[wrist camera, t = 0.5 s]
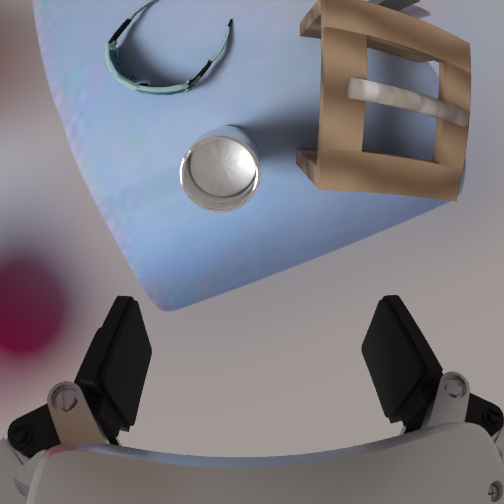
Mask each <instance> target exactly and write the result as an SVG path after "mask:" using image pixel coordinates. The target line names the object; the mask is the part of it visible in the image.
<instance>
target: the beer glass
mask: <svg viewBox="0 0 504 504" xmlns="http://www.w3.org/2000/svg"><path fill="white" fill-rule="evenodd" d="M260 169H261V164H260V157H259V153H258V151H257V148H256V147H255V145H254V143H253V142H252V141H251V139H250V138H249V136H248V135H247V134H246V133H245V132H244V131H243V130H242V129H240V128H238V127H235V126H222V127H219V128H217V129H214V130H211V131H208V132H206V133H204V134H203V135H201V136H200V137H199V138H198V139H197V140H196V141H195V142H194V143H193V144H192V145H191V147H190V148H189V150H188V151H187V152H186V154H185V156H184V158H183V160H182V163H181V167H180V180H181V184H182V187H183V189H184V191H185V193H186V195H187V196H188V197H189V199H190V200H191V201H192V202H194V203H195V204H196V205H198V206H199V207H201V208H203V209H205V210H208V211H213V212H228V211H232V210H235V209H238V208H240V207H241V206H243V205H244V204H246V203H247V202H248V201H249V200H250V199H251V198H252V197H253V195H254V194H255V192H256V190H257V188H258V186H259V182H260V175H261V172H260Z"/></svg>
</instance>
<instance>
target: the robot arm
mask: <svg viewBox="0 0 504 504" xmlns="http://www.w3.org/2000/svg"><path fill="white" fill-rule="evenodd" d="M151 354H152V348H151V345H150V342H149V339H148V335H147V332H146V329H145V325H144V322H143V319H142V315H141V311H140V308H139V304H138V302H137V301H136V300H134V299H133V297H131V296H117V298H116V299H115V301H114V303H113V305H112V307H111V309H110V311H109V313H108V315H107V317H106V319H105V321H104V323H103V325H102V327H101V328H99V329H98V330H97V332H96V334H95V336H94V338H93V340H92V342H91V344H90V347H89V349H88V351H87V353H86V356H85V358H84V360H83V363H82V364H81V367H80V369H79V372H78V374H77V376H76V379H75V381H74V383H73V382H70V381H64V382H61V383H58V384H56V385H55V386H54V387H53V388H52V389H51V390H50V392H49V394H48V398H47V402H48V403H47V404H45V405H43V406H41V407H39V408H38V409H35V410H33V411H31V412H30V413H27V414H25V415H23V416H22V417H19V418H17V419H16V420H14V421H13V422H12V423H11V424H10V426H9V429H8V438H7V439H5V438H3V439H1V441H0V504H504V417H503V413H502V411H501V409H500V408H499V407H498V406H496V405H495V404H493V403H491V402H488V401H486V400H484V399H482V398H480V397H478V396H476V395H474V394H471V393H470V387H469V383H468V381H467V380H466V378H464V377H463V376H462V375H461V374H459V373H457V372H447V373H445V374H444V375H443V373H442V370H443V369H442V367H441V365H440V364H439V362H438V360H437V358H436V356H435V355H434V353H433V351H432V349H431V348H430V346H429V344H428V343H427V341H426V339H425V337H424V336H423V334H422V332H421V331H420V329H419V327H418V326H417V324H416V323H415V321H414V319H413V317H412V316H411V314H410V313H409V311H408V309H407V308H406V306H405V305H404V303H403V302H402V300H401V299H400V297H399V296H398V295H388V296H384V297H383V298H382V300H380V301H379V302H378V305H377V308H376V311H375V313H374V316H373V319H372V321H371V324H370V326H369V329H368V331H367V334H366V336H365V339H364V341H363V344H362V354H363V357H364V359H365V362H366V364H367V367H368V370H369V372H370V375H371V378H372V380H373V383H374V386H375V388H376V392H377V394H378V397H379V400H380V403H381V405H382V409H383V411H384V414H385V416H386V417H387V418H389V420H390V423H394V422H398V421H402V422H403V425H404V426H403V428H402V430H401V433H400V435H399V436H396V437H392V438H388V439H384V440H380V441H376V442H372V443H367V444H363V445H358V446H353V447H348V448H342V449H336V450H331V451H323V452H316V453H308V454H299V455H288V456H275V457H246V458H245V457H242V458H241V457H240V458H233V457H205V456H190V455H180V454H171V453H161V452H153V451H147V450H141V449H135V448H129V447H123V446H122V445H121V443H120V441H119V440H118V438H117V436H118V434H119V430H122V431H127V432H129V429H130V426H133V425H134V423H135V420H136V415H137V411H138V407H139V402H140V398H141V394H142V390H143V386H144V382H145V378H146V374H147V370H148V366H149V363H150V359H151Z"/></svg>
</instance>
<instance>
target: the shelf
mask: <svg viewBox="0 0 504 504" xmlns="http://www.w3.org/2000/svg"><path fill="white" fill-rule="evenodd" d="M300 36H304V37H312V38H320V39H321V92H320V117H319V135H318V150H301V149H297V158H296V164H297V165H298V166H299V167H300V169H301V170H302V171H303V172H304V173H305V174H306V175H307V176H308V178H309V179H310V180H311V181H312V182H313V183H314V185H315V186H316V187H317V188H318V189H321V190H342V191H358V192H372V193H385V194H396V195H407V196H416V197H426V198H434V199H442V200H450V201H457V196H458V192H459V187H460V182H461V177H462V171H463V166H464V160H465V153H466V146H467V137H468V128H469V116H470V100H471V57H470V44H469V43H467V42H466V41H464V40H462V39H460V38H458V37H456V36H454V35H452V34H450V33H448V32H446V31H444V30H442V29H440V28H438V27H435V26H433V25H431V24H429V23H427V22H424V21H422V20H419V19H417V18H414V17H412V16H409V15H406V14H404V13H401V12H398V11H395V10H392V9H389V8H386V7H383V6H380V5H376V4H373V3H369V2H366V1H362V0H318V1H317V2H316V4H315V5H314V6H313V7H312V9H311V10H310V11H309V12H308V14H307V15H306V16H305V17H304V19H303V20H302V21H301V23H300ZM367 48H372V49H376V50H380V51H383V52H387V53H391V54H394V55H397V56H401V57H404V58H407V59H410V60H413V61H416V62H423V61H433V60H434V61H437V62H439V99H435V98H432V97H429V96H426V95H423V94H420V93H416V92H413V91H409V90H406V89H402V88H398V87H394V86H390V85H386V84H382V83H378V82H373V81H368V80H366V75H367ZM365 101H369V102H374V103H379V104H384V105H389V106H393V107H398V108H402V109H406V110H410V111H414V112H418V113H422V114H425V115H429V116H432V117H436V118H437V126H436V136H435V144H434V152H433V159H432V161H429V160H423V159H418V158H412V157H407V156H401V155H394V154H388V153H381V152H373V151H365V150H362V143H363V131H364V118H365Z"/></svg>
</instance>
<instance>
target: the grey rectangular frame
mask: <svg viewBox="0 0 504 504" xmlns="http://www.w3.org/2000/svg"><path fill="white" fill-rule="evenodd" d="M419 1H420V0H369V1H367V2H369V3H373V4H376V5H380V6H383V7H386V8H389V9H392V10H395V11H398V10H401V9H403V8H405V7H407V6H410V5H412V4H414V3H417V2H419Z"/></svg>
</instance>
